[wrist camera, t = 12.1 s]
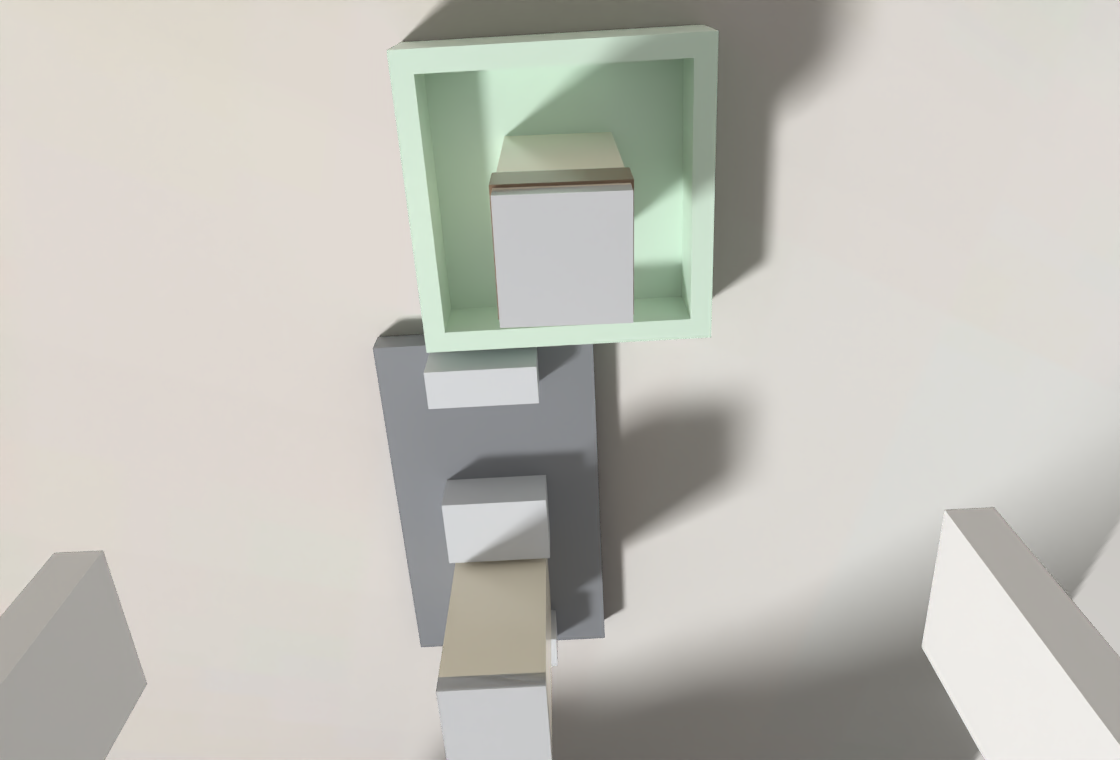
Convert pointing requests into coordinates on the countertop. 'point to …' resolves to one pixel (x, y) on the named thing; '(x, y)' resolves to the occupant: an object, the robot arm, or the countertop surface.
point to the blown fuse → (562, 231)
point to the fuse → (497, 662)
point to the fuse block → (495, 471)
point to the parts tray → (559, 108)
